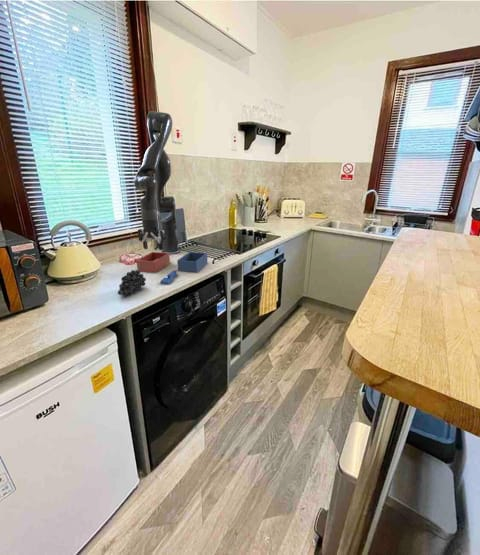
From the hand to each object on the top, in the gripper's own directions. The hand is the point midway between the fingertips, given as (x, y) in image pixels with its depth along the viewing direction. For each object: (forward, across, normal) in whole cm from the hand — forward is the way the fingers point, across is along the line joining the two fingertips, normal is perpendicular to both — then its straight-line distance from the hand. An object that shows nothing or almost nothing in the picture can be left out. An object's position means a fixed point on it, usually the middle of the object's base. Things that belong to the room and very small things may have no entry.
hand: (153, 249), depth 142 cm
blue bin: (+9, -20, -4) cm, 22 cm away
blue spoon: (+9, -16, +15) cm, 24 cm away
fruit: (+9, -7, +32) cm, 34 cm away
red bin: (+9, 0, +1) cm, 9 cm away
